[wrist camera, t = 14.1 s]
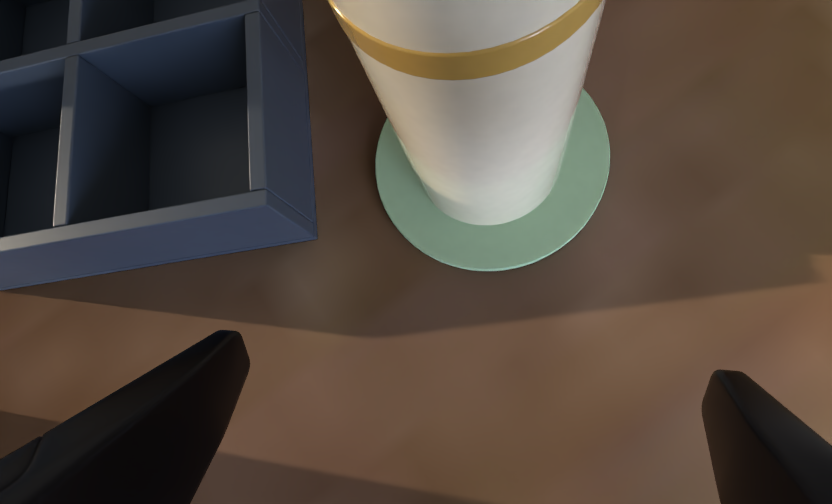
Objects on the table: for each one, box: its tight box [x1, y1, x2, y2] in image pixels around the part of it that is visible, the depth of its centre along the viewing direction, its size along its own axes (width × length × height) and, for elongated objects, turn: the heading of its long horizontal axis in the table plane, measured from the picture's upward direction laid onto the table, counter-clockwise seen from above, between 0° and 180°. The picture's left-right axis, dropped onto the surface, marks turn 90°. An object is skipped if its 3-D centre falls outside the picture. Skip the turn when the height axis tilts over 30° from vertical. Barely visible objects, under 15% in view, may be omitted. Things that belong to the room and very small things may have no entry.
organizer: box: [0, 0, 318, 291], centre depth 21 cm, size 15×15×4 cm
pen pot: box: [327, 0, 606, 225], centre depth 13 cm, size 6×6×12 cm
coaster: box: [375, 88, 610, 271], centre depth 19 cm, size 9×9×1 cm
